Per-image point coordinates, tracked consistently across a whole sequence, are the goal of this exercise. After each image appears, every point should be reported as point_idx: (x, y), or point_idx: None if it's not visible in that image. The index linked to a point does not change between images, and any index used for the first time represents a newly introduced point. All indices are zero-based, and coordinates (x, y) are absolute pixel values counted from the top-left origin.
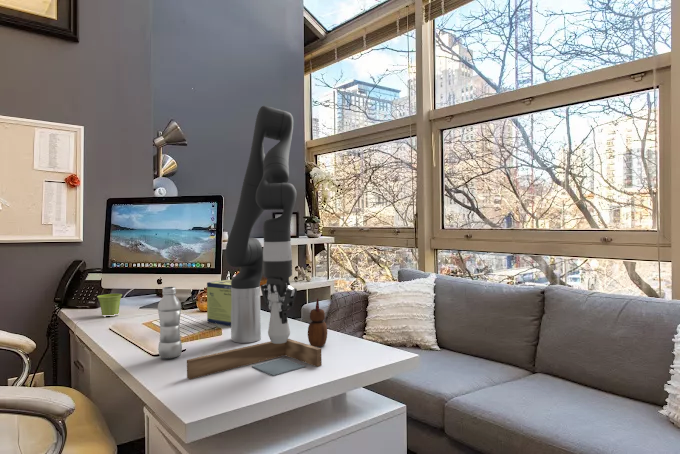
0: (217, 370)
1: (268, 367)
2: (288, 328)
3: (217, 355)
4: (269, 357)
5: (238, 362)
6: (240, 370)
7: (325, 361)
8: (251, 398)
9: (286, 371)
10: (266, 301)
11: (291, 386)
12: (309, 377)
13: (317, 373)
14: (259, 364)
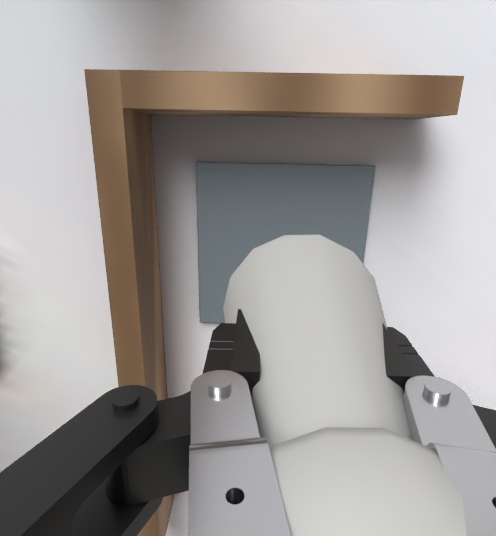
0: None
1: None
2: (375, 290)
3: None
4: (153, 210)
5: (160, 362)
6: (204, 365)
7: (389, 19)
8: None
9: None
10: (134, 527)
11: (488, 341)
12: (481, 239)
13: (478, 182)
14: (203, 291)
